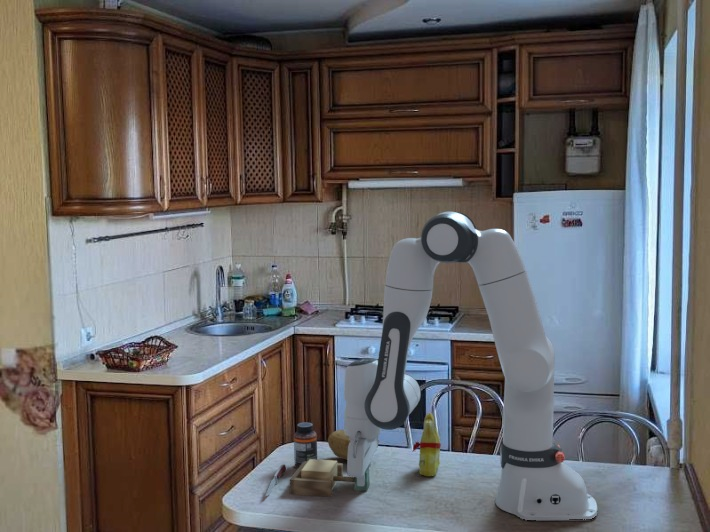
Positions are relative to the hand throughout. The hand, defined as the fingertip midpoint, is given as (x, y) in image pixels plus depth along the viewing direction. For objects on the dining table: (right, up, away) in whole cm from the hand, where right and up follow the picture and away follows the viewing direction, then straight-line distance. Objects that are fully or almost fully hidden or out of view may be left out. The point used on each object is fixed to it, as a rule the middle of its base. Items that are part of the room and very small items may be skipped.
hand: (363, 481), depth 197 cm
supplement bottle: (-15, 0, +15) cm, 21 cm away
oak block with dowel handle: (-6, -2, +1) cm, 7 cm away
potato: (-2, 0, +20) cm, 20 cm away
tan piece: (-11, -2, +2) cm, 11 cm away
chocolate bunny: (+16, 0, +12) cm, 20 cm away
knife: (-21, -2, +3) cm, 22 cm away
